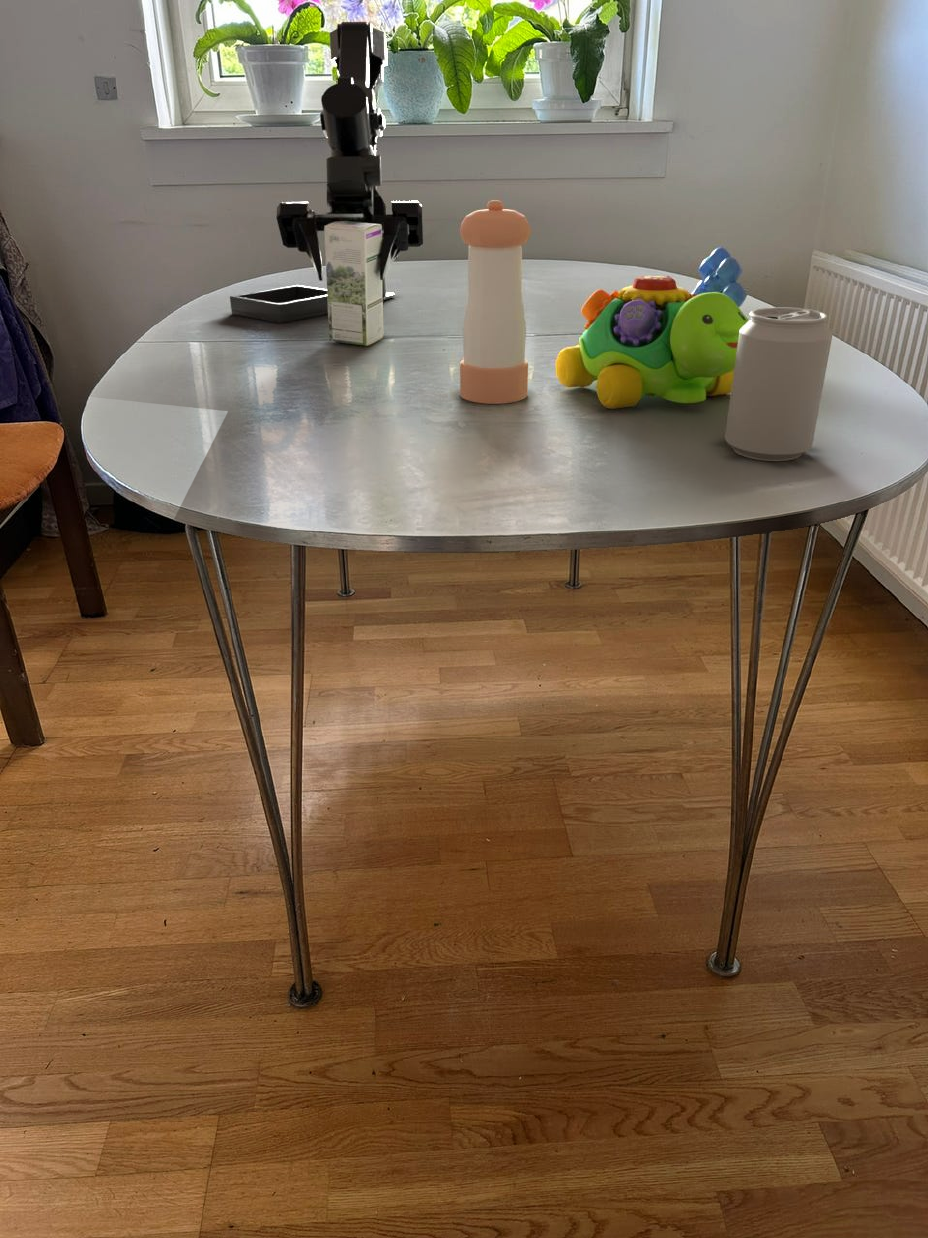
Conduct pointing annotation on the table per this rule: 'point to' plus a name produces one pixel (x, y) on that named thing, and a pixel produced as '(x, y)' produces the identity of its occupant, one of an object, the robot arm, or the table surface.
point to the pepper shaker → (494, 307)
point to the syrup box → (354, 282)
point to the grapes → (721, 276)
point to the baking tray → (281, 303)
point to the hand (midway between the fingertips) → (350, 278)
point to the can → (778, 383)
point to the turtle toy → (654, 344)
